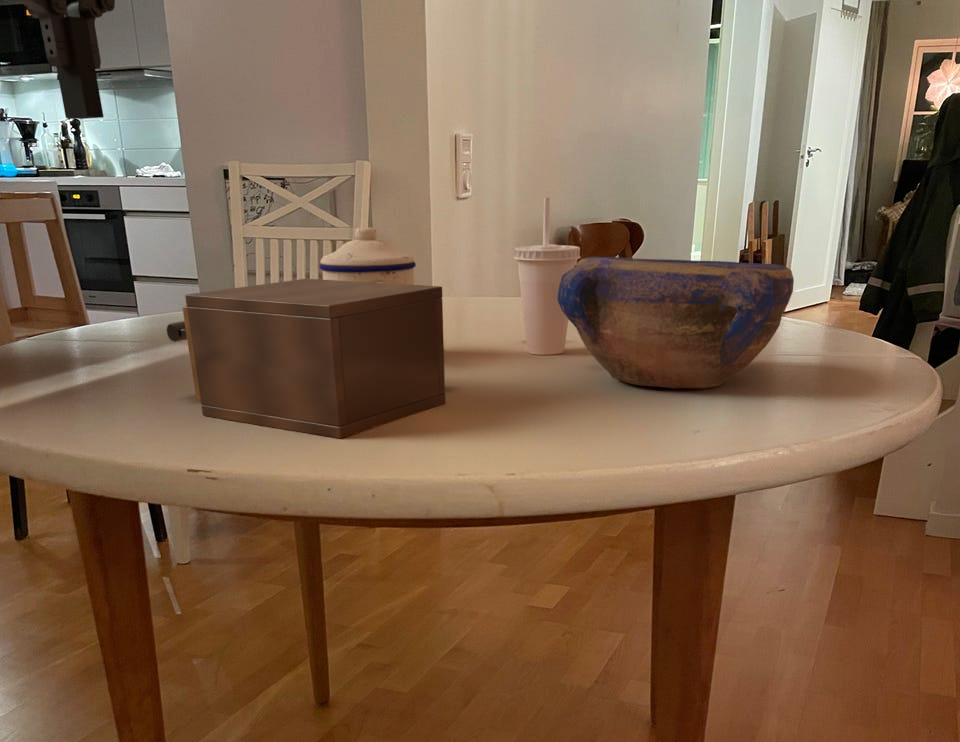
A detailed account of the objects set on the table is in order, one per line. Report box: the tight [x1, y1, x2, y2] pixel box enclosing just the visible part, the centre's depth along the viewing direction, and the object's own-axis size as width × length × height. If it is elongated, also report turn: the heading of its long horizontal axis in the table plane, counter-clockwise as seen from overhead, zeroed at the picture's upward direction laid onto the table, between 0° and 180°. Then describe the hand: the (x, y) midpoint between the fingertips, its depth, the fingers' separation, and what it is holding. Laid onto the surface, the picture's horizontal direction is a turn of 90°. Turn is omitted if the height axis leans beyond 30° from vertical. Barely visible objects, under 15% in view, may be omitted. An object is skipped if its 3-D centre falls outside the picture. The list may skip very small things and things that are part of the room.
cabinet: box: [184, 278, 446, 439], centre depth 69 cm, size 14×13×9 cm
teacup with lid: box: [319, 227, 417, 285], centre depth 87 cm, size 12×9×12 cm
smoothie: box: [513, 196, 582, 356], centre depth 89 cm, size 6×6×14 cm
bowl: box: [557, 256, 795, 390], centre depth 77 cm, size 18×18×10 cm
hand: (84, 117), depth 72 cm, fingers closed
